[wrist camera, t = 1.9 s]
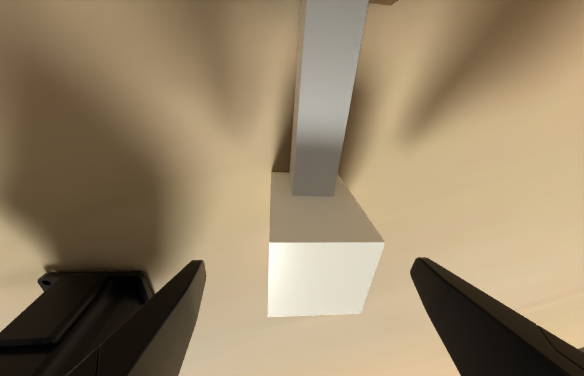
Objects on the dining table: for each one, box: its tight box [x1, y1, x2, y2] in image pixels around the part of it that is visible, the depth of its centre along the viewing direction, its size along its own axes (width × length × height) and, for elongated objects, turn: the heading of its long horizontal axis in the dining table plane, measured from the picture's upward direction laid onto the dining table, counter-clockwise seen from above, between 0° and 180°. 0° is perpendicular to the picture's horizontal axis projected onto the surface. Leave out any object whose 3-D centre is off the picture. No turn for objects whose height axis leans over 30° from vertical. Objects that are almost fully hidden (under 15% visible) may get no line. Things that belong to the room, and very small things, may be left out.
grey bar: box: [268, 0, 385, 317], centre depth 7 cm, size 18×4×6 cm, turn 176°
